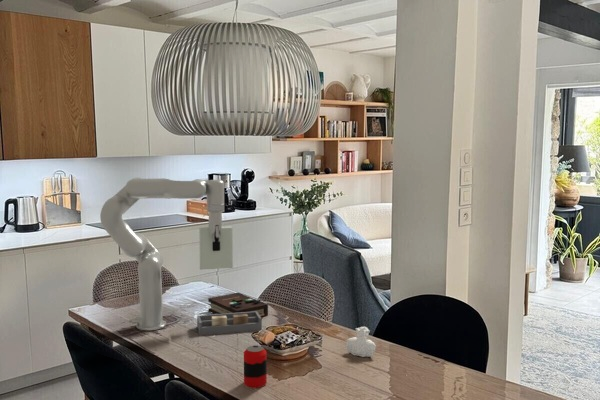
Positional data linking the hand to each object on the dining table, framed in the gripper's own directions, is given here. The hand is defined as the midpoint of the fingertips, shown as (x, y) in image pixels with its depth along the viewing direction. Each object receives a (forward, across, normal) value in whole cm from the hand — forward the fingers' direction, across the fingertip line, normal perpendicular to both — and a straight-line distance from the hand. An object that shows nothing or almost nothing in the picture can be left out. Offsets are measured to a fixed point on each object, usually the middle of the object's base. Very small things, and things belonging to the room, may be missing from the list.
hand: (215, 249), depth 247 cm
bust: (+33, +50, +49) cm, 78 cm away
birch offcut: (+32, +14, 0) cm, 35 cm away
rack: (+33, +11, +4) cm, 35 cm away
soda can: (+33, +66, +5) cm, 74 cm away
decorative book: (+34, -11, +11) cm, 37 cm away
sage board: (+8, 0, 0) cm, 8 cm away
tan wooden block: (+32, +14, +9) cm, 36 cm away
